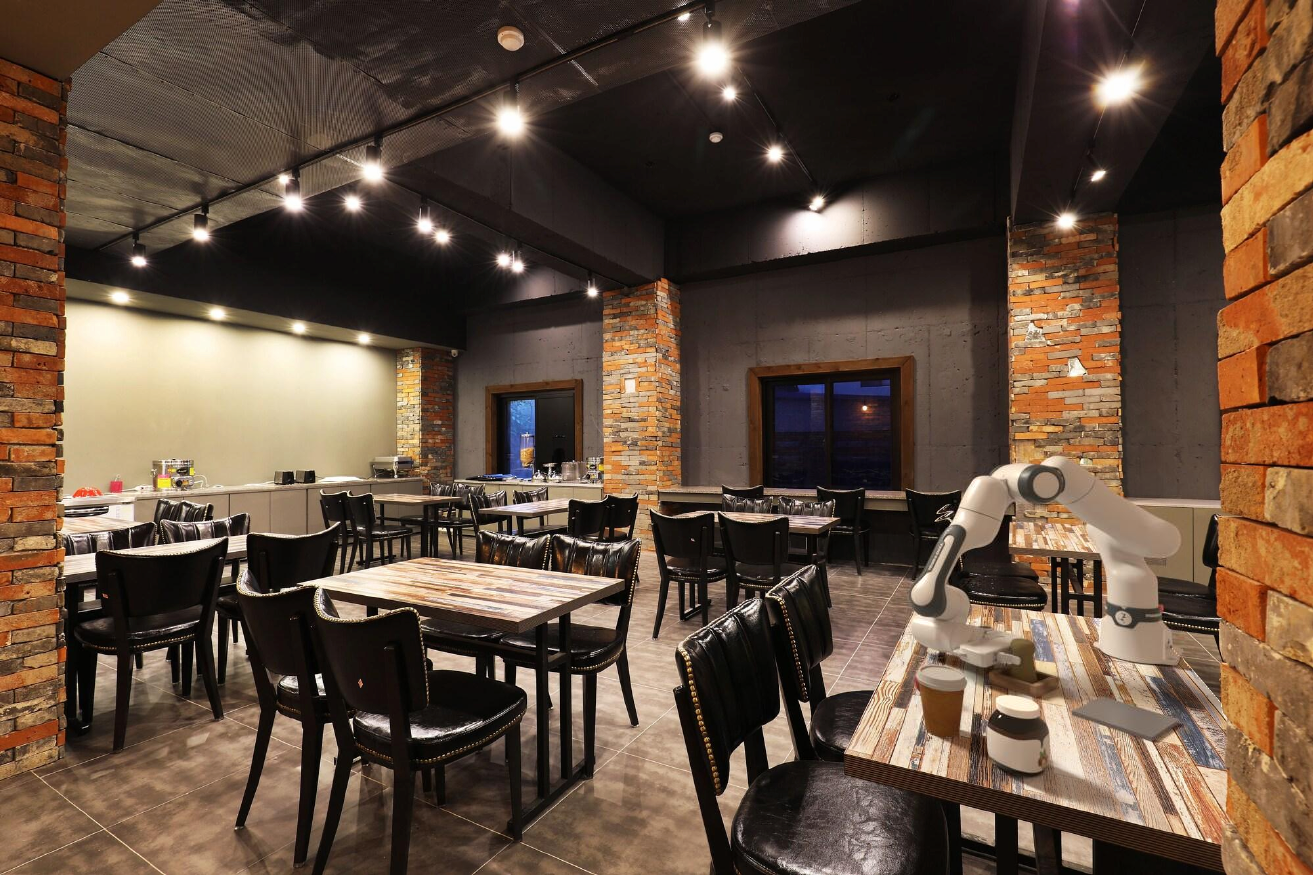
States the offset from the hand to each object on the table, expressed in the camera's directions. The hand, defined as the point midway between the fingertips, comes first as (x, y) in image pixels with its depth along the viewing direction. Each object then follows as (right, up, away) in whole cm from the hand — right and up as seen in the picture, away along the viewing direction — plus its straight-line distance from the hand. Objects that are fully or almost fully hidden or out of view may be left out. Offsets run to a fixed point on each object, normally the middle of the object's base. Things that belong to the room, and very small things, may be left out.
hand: (1026, 658), depth 144 cm
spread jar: (-24, -7, -34) cm, 42 cm away
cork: (0, -7, +1) cm, 7 cm away
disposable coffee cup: (-31, -7, -22) cm, 39 cm away
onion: (-27, -7, -6) cm, 28 cm away
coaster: (+10, -6, -18) cm, 21 cm away
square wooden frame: (0, -7, +1) cm, 7 cm away
